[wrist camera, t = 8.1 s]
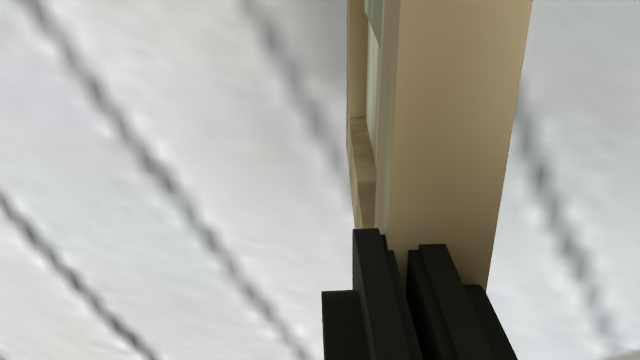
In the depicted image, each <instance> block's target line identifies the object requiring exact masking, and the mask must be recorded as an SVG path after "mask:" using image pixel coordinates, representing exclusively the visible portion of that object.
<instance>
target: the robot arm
mask: <svg viewBox="0 0 640 360" xmlns="http://www.w3.org/2000/svg"><path fill="white" fill-rule="evenodd" d="M322 322H323V345H324V360H518V359H517V357H516V355H515V353H514V351H513V349H512V346H511V344H510V342H509V340H508V338H507V336H506V334H505V332H504V330H503V328H502V326H501V324H500V321H499V319H498V317H497V315H496V313H495V311H494V309H493V307H492V305H491V303H490V301H489V299H488V296H487V294H486V292H485V290H484V289H483V287H482V286H481V285H479V284H471V285H463V283H462V281H461V278H460V276H459V274H458V271H457V269H456V267H455V265H454V262H453V260H452V258H451V255H450V253H449V251H448V248H447V246H446V244H419V250H408V262H407V280H406V295H405V291H404V287H403V284H402V280H401V276H400V273H399V269H398V265H397V262H396V258H395V255H394V251H393V250H388V249H387V244H386V239H385V235H384V234H381V235H380V231H379V228H365V229H353V290H343V291H322Z"/></svg>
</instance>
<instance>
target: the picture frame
mask: <svg viewBox="0 0 640 360" xmlns="http://www.w3.org/2000/svg"><path fill="white" fill-rule="evenodd" d="M532 2H533V0H347V122H346V147H347V157H348V166H349V176H350V185H351V195H352V205H353V214H354V224H355V229H365V228H379V231H380V235H381V234H384V235H385V239H386V244H387V249H388V250H393V251H394V255H395V258H396V262H397V265H398V269H399V273H400V276H401V280H402V284H403V287H404V291H405V295H406V280H407V262H408V250H419V244H446V246H447V248H448V251H449V253H450V255H451V258H452V260H453V262H454V265H455V267H456V269H457V271H458V274H459V276H460V278H461V281H462V283H463V285H471V284H479V285H481V286H482V287H483V289H484V290H485V292H486V288H487V281H488V275H489V269H490V263H491V257H492V250H493V244H494V238H495V232H496V225H497V219H498V213H499V207H500V201H501V194H502V188H503V182H504V176H505V170H506V163H507V157H508V151H509V145H510V138H511V132H512V126H513V120H514V114H515V107H516V101H517V95H518V89H519V83H520V76H521V70H522V64H523V58H524V51H525V45H526V39H527V33H528V27H529V20H530V14H531V8H532Z"/></svg>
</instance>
